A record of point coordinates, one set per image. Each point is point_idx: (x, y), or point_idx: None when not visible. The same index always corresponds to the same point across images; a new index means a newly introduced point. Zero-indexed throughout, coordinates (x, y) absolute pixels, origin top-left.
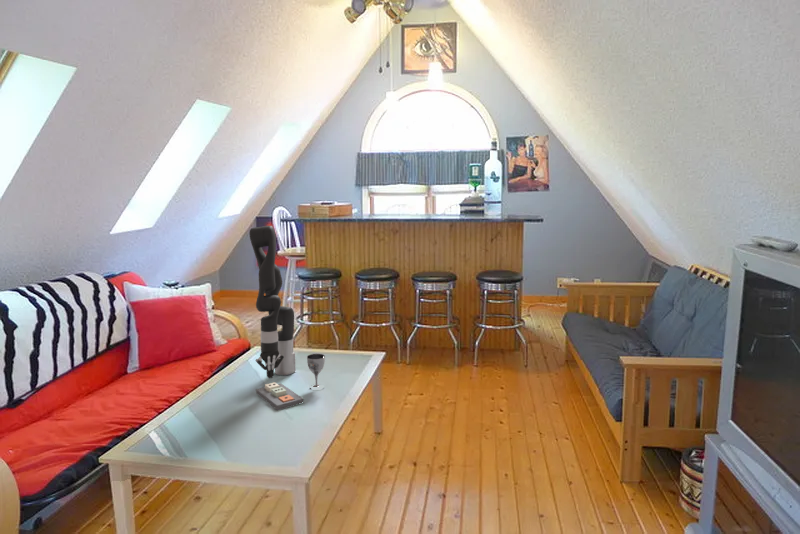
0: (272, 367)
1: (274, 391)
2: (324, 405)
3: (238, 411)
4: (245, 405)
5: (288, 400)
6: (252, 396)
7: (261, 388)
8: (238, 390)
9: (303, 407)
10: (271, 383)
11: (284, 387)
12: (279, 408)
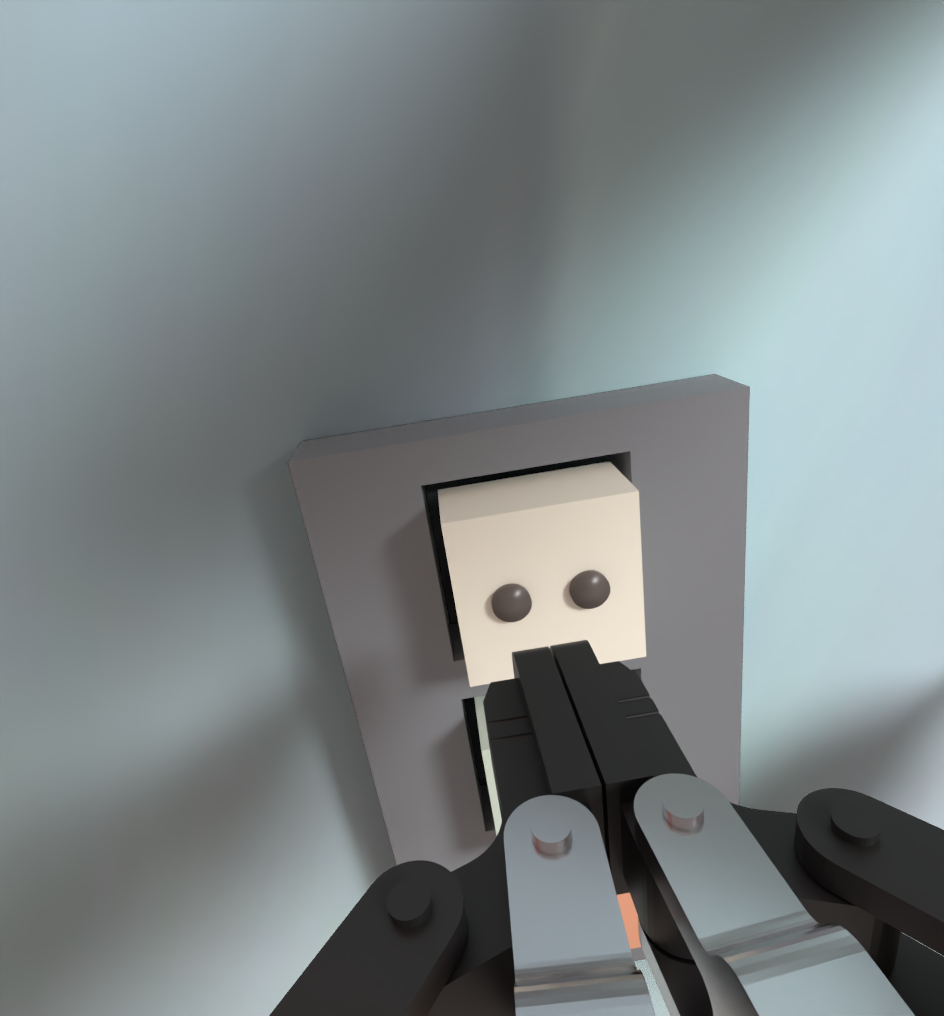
0: (686, 980)
1: (496, 825)
2: None
3: (25, 860)
4: (113, 752)
5: None
6: (232, 526)
7: (383, 472)
8: (4, 143)
9: None
10: (564, 523)
11: (714, 585)
12: None
